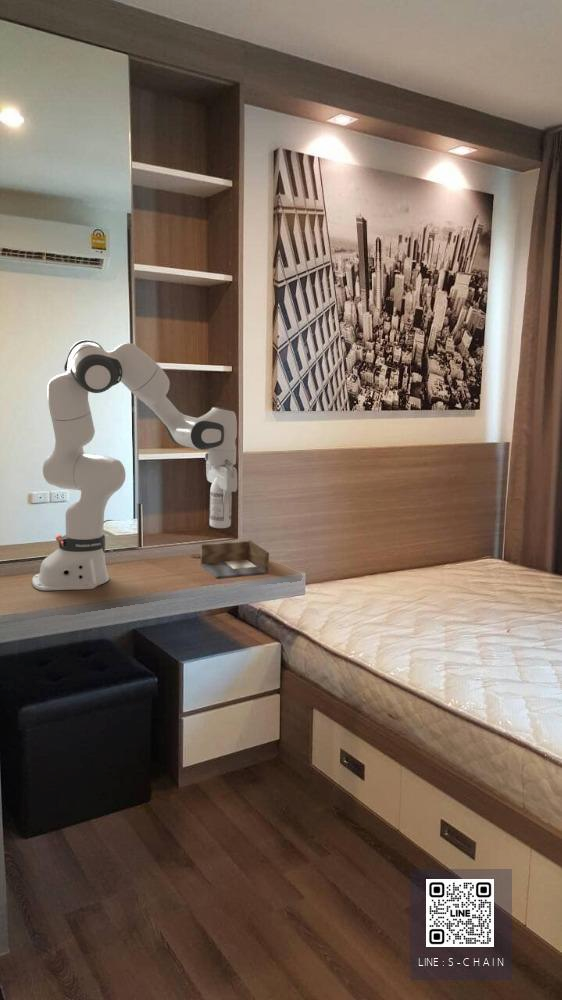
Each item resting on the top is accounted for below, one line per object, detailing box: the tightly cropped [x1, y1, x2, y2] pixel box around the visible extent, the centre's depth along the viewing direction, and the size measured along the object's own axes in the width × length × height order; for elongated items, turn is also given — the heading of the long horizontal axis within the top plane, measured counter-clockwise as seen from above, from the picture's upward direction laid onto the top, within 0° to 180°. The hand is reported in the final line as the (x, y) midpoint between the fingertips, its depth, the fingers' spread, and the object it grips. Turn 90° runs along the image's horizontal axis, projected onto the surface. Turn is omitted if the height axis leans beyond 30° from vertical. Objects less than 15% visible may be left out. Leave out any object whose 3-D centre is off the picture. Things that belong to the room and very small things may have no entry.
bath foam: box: [209, 470, 233, 529], centre depth 233 cm, size 7×7×20 cm
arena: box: [199, 540, 270, 579], centre depth 238 cm, size 18×16×7 cm
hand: (221, 500), depth 233 cm, fingers closed on bath foam, 7 cm apart
